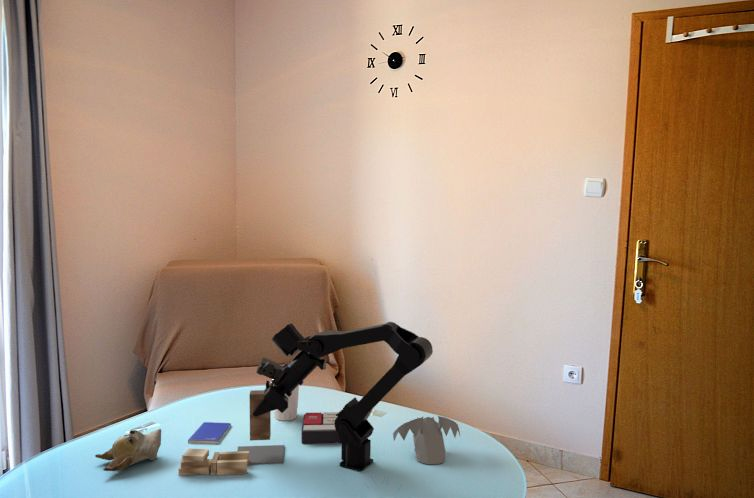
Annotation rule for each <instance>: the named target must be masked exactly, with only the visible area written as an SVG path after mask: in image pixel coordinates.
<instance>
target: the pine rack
mask: <svg viewBox="0 0 754 498" xmlns="http://www.w3.org/2000/svg"><path fill="white" fill-rule="evenodd" d="M211 459H212V461H211V469H210V475H211V476H221V475H222V476H223V475H224V476H226V475H247V474H248V465H250V464H249V451H237V450H236V451H214V453H213V456H212V458H211Z"/></svg>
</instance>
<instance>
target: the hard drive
mask: <svg viewBox="0 0 754 498" xmlns="http://www.w3.org/2000/svg"><path fill="white" fill-rule="evenodd" d="M231 427H232V423H231V422H230V423H229V422H211V421H204V422H202V423H201V425H200V426H199V427H198V428H197V429H196V430H195V431H194V433H193V434H192V435H191V436H190V437H189V438H188V439H187V444H204V445H206V444H207V445H208V444H209V445H210V444H211V445H218V444H219V443H220V442H221V441H222V439H223V438H224V436H225V435H226V434H227V432H228V431H229V430H230V428H231Z"/></svg>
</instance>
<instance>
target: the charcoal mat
mask: <svg viewBox="0 0 754 498" xmlns="http://www.w3.org/2000/svg"><path fill="white" fill-rule="evenodd" d="M236 451H249V465H271V464H272V465H273V464H283V463H284V455H285V453H284V451H285V445H284V444H279V445H278V444H275V445H245V446H244V445H243V446H242V445H241V446H240V445H239V446H238V447H237V450H236Z"/></svg>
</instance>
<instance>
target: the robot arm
mask: <svg viewBox="0 0 754 498" xmlns="http://www.w3.org/2000/svg"><path fill="white" fill-rule="evenodd" d="M271 342H273V344H274V345H275V346H276V347H277V348H278V350H280V352H282V354H284V356H285V357H289V356H290V357H293V358H292V359H291V361H289V362H285V363H284V364H283V365H281V364H279V363H277V362H276V361H273V360H271V359H269V358H267V357H261V360H260V362H259V364H258V366H257V369H256V374H258V375H259V376H264V377H267V378H269V379H271V380H270V381H269V380H267V379H266V381H265V388H264V389H263V390H264V399H263V400H262V401H261V403H260V404H259V406H258V407H257V408H256V410H255V411H254V413H253V415H254V416H255V417H257V416H259V415H262V414H265V413H267V412H270V413H271V412H274V410H276V409H278V410H279V411H280V412H281V413H283V412H284V411H285V410H286V409H287V408H288V397H290V396H291V395H292V391H293V390H294V389H295V388H296V387H297V386H298V385H299V387H300V386H302V385H303V384H304V380H306V378H308V376H309V375H311V374H312V373H313V371H315V369H317V368H319V369H320V371H322V370H326V369H327V361H328V360H327V358H323V357H325V356H328V355H330V354H333V353H336V352H338V351H339V350H342V349H347V348H351V347H358V346H361V345H362V346H363V345H368V344H373V343H378V342H385V343H386V344H387V345H388V346H389V347H390V348H391V349H392V350H393V352H394V353H396V354H397V358H396V360H395V362H394V364H393V365H392V366H391V368H389V370H387V371H386V373H385V374H384V375H382V376H381V377H380V379H379V380H378V381H376V383H375V384H374V385H373V386H372V387H371V388H370V389H369V390H368V391H367V393H365V394H364V395H363V396H362V398H360V399H359V400H358V398H357V397H355V396H354V397H353V398H352V399H351V400H349V401H348V402H347V403H346V404H345V405H344V406H343V407H342V409H341V410H339V411H337V412H338V413H337V414H336V416H338V417H337V418H336V419H335V422H334V424H335V429H336V431H337V433H338V434H339V438H340V441H341V443H340V444H341V449H340V450H341V452H340V454H341V456H340V457H341V462H339V466H340V467H345V468H348V469H351V470H355V471H359V472H362V471H364V470H365V469H366V468H367V467H369V465H371V464H372V463H374V458H371V448H372V447H371V442H372V441H371V439H370V437H371V436H372V435H373V432H374V429H375V428H374V426H373V425H372V424H371V422H370V421H369V420H368V418H369V417H370V415H371V413H372V412H373V410H374V408H375V407H376V406H377V405H378V404H379V403H380V402H382V400H383V399H384V398H385V397H386V396H387V395H388V394H389V393H390V392H391V391H392V389H393V388H394V387H395V386H397V384H399V383H400V382H401V381H402V379H403V378H404V377H405V376H407V375H408V374H409V373H412V372H413V371H414V370H415V369H417V368H418V367H420V366H421V365H423V364H424V363H425V362H426V361H427V360H429V358H431V356H432V355H433V352H434V351H433V345H432V343H431V342H430V340H429V339H428V338H426V337H423V336H419V335H417V334H416V333H414V332H413V331H411V330H408V329H406V328H403V327H401V326H400V325H398V324H397V323H396V322H395V321H394V322H393V321H388V322H384V323H380V324H378V325H377V324H376V325H371V326H366V327H360V328H356V329H351V330H345V331H344V330H343V331H342V330H335V329H334V330H331V329H329V330H323V331H320V332H318V333H316V334H314V335H309V336H306V337H304V336H303V335H302V334H301V332H300V331H298V330H297V328H296V326H295V325H294V324H293V323H291V322H290V323H288V324H286V325H285V327H283V328H282V329H281V330H280V331H278V332H277V333H275V334H274V335H273V337H272V338H271ZM294 356H295V357H294ZM285 394H286V395H287V396H288V397H287V396H286V395H285Z"/></svg>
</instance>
